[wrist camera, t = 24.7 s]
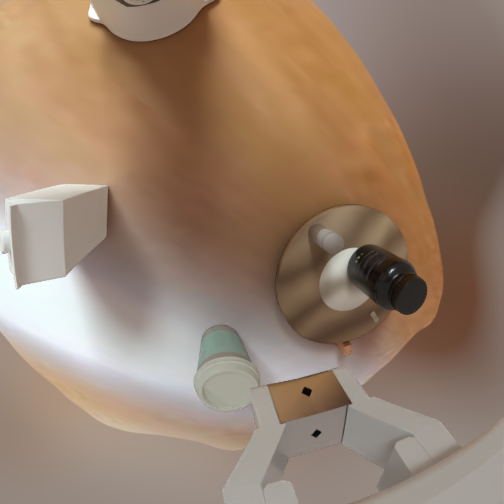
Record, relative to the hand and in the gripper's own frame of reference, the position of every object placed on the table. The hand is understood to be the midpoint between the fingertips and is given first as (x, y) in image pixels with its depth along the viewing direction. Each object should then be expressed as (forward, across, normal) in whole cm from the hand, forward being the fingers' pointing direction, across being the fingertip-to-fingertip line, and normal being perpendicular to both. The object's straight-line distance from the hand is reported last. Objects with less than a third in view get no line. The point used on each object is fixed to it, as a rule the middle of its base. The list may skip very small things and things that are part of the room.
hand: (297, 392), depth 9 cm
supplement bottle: (+31, -20, +10) cm, 38 cm away
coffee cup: (+34, +3, +20) cm, 39 cm away
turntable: (+32, -18, +12) cm, 39 cm away
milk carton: (+34, +18, -3) cm, 39 cm away
